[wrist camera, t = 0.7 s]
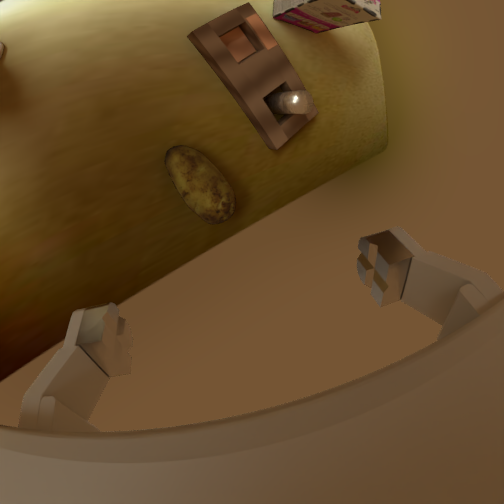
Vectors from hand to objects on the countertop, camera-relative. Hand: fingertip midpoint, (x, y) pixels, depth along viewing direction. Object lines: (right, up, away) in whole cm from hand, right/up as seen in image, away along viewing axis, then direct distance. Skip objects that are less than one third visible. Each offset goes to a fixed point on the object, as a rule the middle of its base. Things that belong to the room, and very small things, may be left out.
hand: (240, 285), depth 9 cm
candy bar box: (+9, +46, +32) cm, 57 cm away
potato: (-9, +13, +36) cm, 39 cm away
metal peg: (+4, +27, +37) cm, 47 cm away
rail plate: (+1, +31, +33) cm, 46 cm away
